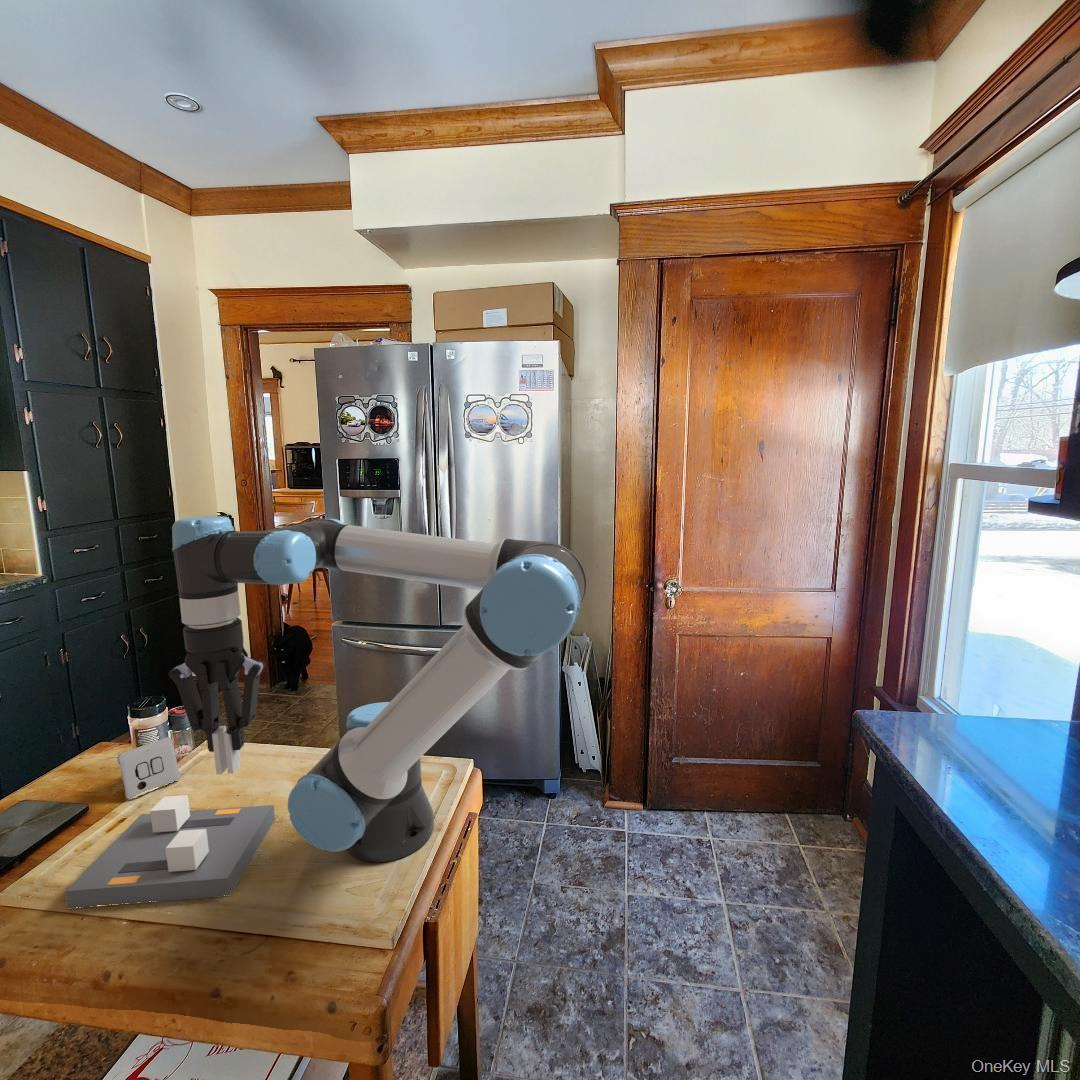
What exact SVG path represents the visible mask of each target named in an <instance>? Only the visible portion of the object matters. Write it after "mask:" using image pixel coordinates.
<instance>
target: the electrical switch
mask: <svg viewBox="0 0 1080 1080" xmlns="http://www.w3.org/2000/svg"><path fill="white" fill-rule="evenodd" d="M116 758H117V763H118V765H119V769H120V773H121V777H122V782H123V786H124V796H125V799H126V800H129V801H131V800H130V799H131V798H133V797H134V796H136V795H137V794H140V793H142V792H145V791H147V790H150V789H153V788H156V787H160V786H163V785H165V784H169V783H172V782H174V781H176V780H178V781H179V780H180V778H181V774H180V769H179V766H178V760H177V755H176V751H175V746H174V742H173V738H171V737H169V736H167V737H163V738H161V739H158V740H155V741H152V742H149V743H146V744H144V745H141V746H138V747H135V748H133V749H129V750H127V751H124V752H121V753H119V754H118V756H117V757H116ZM141 783H142V785H141V787H140V784H141ZM174 783H175V782H174ZM172 784H173V783H172ZM169 785H170V784H169Z"/></svg>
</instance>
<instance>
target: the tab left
mask: <svg viewBox="0 0 1080 1080" xmlns="http://www.w3.org/2000/svg"><path fill="white" fill-rule="evenodd" d="M208 852H209V847H208V839H207V831H206V829H198V830H184V831H179V833H178V834H177V835H176V836H175V837H174V839H173V840H172V841H171V842H170V843H169V845H168V846H167V847H166V856H167V864H168V871H169V872H173V871H186V870H196V869H197V867H198V866H199V865H200V863H201V862H202V861H203V859H204V858H205V856H206V855H207V854H208Z"/></svg>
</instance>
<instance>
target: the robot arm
mask: <svg viewBox="0 0 1080 1080" xmlns="http://www.w3.org/2000/svg"><path fill="white" fill-rule="evenodd" d="M171 531H172V532H171V533H172V535H171V537H172V548H171V550H172V553H173V559H174V566H175V572H176V579H177V587H178V596H179V598H178V599H179V606H180V614H181V615H180V616H181V623H182V624H184V625H185V626H184V627H183V628H182V634H183V640H184V649H185V651H186V652H187V653H186V656H185V658H184V663H181V664H178V665H176V667H174V668H172V669H171V670H169V671H168V676H169V678H170V679H171V680H172V681H173V683H174V684H175V686H176V687H177V690H178V693H179V697H180V700H181V702H182V705H183V709H184V711H185V714H186V716H187V720H188V724H189V725H190V728H191V730H192V731H199V730H201V731H203V732H204V733H205V734H206V743H207V750H208V751H209V753H212V752H213V754H214V755H213V756H214V764H215V772H216V775H222V774H223V773H224V772H225V771H226V770H227V774H228V775H229V774H230V775H231V774H234V773H235V772H236V771H237V770H238V768H239V767H240V766H241V765H242V759H241V749H242V748H243V747H244V745H245V735H244V728H247V727H248V726H250V724H251V723H252V722H253V721H254V720H255V719H256V714H257V707H258V706H257V705H258V697H259V686H260V678H261V673H262V672H263V671H264V669H265V666H266V662H265V661H264V660H262V659H260V660H258V661H257V660H255V659H253V658H252V657H251V658H250V657H249V654H248V652H247V651H246V649H245V647H244V632H243V624H242V623H243V622H242V619H241V618H239V617H240V615H241V605H240V596H239V586H238V585H239V584H255V585H256V584H258V585H273V586H274V585H276V586H284V585H291V584H293V585H294V584H295V585H297V584H301V583H303V582H305V581H307V580H308V579H309V575H311V574H312V573H313V572H314V570H316V569H319V568H321V569H330V570H337V571H345V572H352V573H359V574H364V575H365V574H366V575H372V576H381V577H387V578H394V579H400V580H408V581H414V582H420V583H426V584H435V585H441V586H449V587H456V588H462V589H470V590H475V591H476V590H477V591H479V592H478V593H477V594H476V595H475V596H474V597H473V598H472V600H470V601H469V603H468V604H467V605H466V606H465V608H464V609H463V619H464V621H463V622H464V624H463V625H461V628H459V629H458V630H457V632H455V634H453V636H452V637H451V638H450V639H449V640H448V641H447V642H446V643H445V644H444V645H443V646H442V647H441V648H440V650H438V651H437V653H436V654H434V655H433V656H432V657H431V659H430V660H429V661H428V662H427V663H426V664H425V665H424V666H423V667H422V668H421V669H420V671H418V672H417V673H416V675H414V676H413V678H412V679H411V680H410V681H409V682H408V683H407V684H406V685H405V686H404V687H403V688H402V689H401V690H400V691H399V692H398V693H397V694H396V695H395V696H394V697H393V698H392V700H391V701H383V702H375V703H369V704H365V705H362V706H359V707H356V708H355V709H352V711H350V712H349V713H348V715H347V717H346V723H345V725H346V728H347V732H346V733H345V734H344V735H343V736H342V737H341V738H340V739H339V740H338V741H336V743H335V744H334V745H332V748H330V750H329V751H328V752H327V753H326V754H324V756H323V757H322V758H321V759H320V760H319V761H318V762H317V763H316V764H315V765H314V766H313V767H312V768H311V769H310V770H309V771H308V772H307V773H306V774H303V775H302V776H301V777H300V778H299V779H298V781H297V783H296V784H295V785H294V786H293V788H292V789H291V791H290V793H289V795H288V798H287V811H288V813H289V819H290V821H291V824H292V826H293V828H294V829H295V831H296V832H297V833H298V835H299V836H300V837H301V838H303V840H304V841H306V842H307V843H308V844H309V845H311V846H313V847H315V848H316V849H318V850H321V851H324V850H326V851H328V852H332V853H333V852H336V853H337V852H342V851H345V850H347V851H348V852H349V854H351V856H353V857H354V858H357V859H359V860H361V861H364V862H365V861H366V862H371V863H384V862H390V861H395V860H398V859H402V858H405V857H407V856H409V855H411V854H412V853H415V852H416V851H418V850H419V849H420V848H422V847H423V846H424V845H425V844H427V842H428V841H429V840H430V839H431V837H432V835H433V832H434V829H435V820H434V810H433V807H432V806H431V803H430V801H429V798H428V795H427V793H426V791H425V789H424V787H423V784H422V768H421V767H422V765H421V764H422V763H421V761H422V760H421V757H422V756H424V754H425V753H427V751H429V749H431V748H432V747H433V746H434V745H435V744H436V742H438V741H439V739H441V738H442V737H443V736H444V735H445V734H446V733H447V732H448V731H449V730H450V729H451V728H452V727H453V726H454V725H455V724H456V723H457V722H458V721H459V720H460V719H461V718H462V717H463V716H464V715H465V714H466V713H467V712H468V711H469V710H470V709H471V708H472V707H473V706H474V705H475V704H476V703H477V702H478V701H479V700H480V699H481V698H482V697H483V696H484V695H486V693H487V692H488V691H489V690H490V689H491V688H492V687H494V685H495V684H497V682H498V681H499V680H500V679H501V678H502V677H503V676H505V674H506V673H507V672H509V670H518V671H523V670H527V669H528V668H529V667H530V666H531V665H532V664H533V663H534V662H535V661H536V660H537V659H538V658H539V657H540V656H541V655H542V654H545V653H548V652H549V651H551V650H552V649H554V648H555V647H557V646H558V645H560V644H561V643H563V641H564V640H565V639H566V638H567V637H568V636H569V634H570V633H571V632H572V631H573V628H574V627H575V623H576V622H577V619H578V617H579V612H580V608H581V607H580V606H581V604H582V603H583V600H584V597H585V595H586V589H587V575H586V570H585V568H584V565H583V564H582V562H581V560H580V558H578V556H577V555H576V554H575V553H574V552H573V551H572V550H570V549H569V548H568V547H565V546H564V545H561V544H559V543H556V542H550V541H540V540H539V541H536V540H525V539H524V540H521V539H513V538H502V539H501V540H500V541H499V542H497V543H492V542H487V541H486V542H485V541H476V540H469V539H461V538H454V537H453V538H452V537H445V536H437V535H431V534H424V533H423V534H422V533H415V532H414V533H413V532H406V531H399V530H398V531H397V530H392V529H391V530H390V529H383V528H376V527H375V528H373V527H367V526H360V525H351V524H345V522H343V521H341V520H339V519H336V518H317V519H315V520H312V521H308V522H303V523H298V524H293V525H289V526H284V527H279V528H273V529H267V530H254V531H253V530H251V531H249V530H248V531H244V530H243V531H239V530H238V531H237V530H234V528H233V524H232V521H231V519H230V518H229V517H227V516H220V515H212V516H211V515H209V516H208V515H207V516H195V517H186V518H181V519H178V520H176V521H175V522H174V523H173V525H172V527H171ZM243 667H244V675H246V677H245V679H244V687H243V696H242V701H241V695H240V694H241V693H240V688H239V679H240V678H239V673H240V671H241V670H242V668H243ZM193 674H194V675H195V677H197V678H198V686H197V684H196V680H195V678H194V676H193ZM198 687H199V690H198ZM219 690H220V691H221V692H222V697H223V704H224V711H225V715H226V721H227V726H226V725H220V724H222V722H223V719H221V715H220V697H219ZM199 691H201V695H200V693H199ZM227 728H228V729H227Z"/></svg>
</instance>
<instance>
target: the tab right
mask: <svg viewBox="0 0 1080 1080" xmlns="http://www.w3.org/2000/svg"><path fill="white" fill-rule="evenodd" d="M189 802H190V801H189V796H188V795H187V794H184V795H171V796H167V795H166V796H163V797H162V798H161V799H160V800H159V801H158V802H157V803H156V804H155V805H154V807H152V808H151V809H150V810H149V812H150V813H149V814H151V822H152V829H153V833H154V832H167V831H178V830H179V829H180V827H181V826H182V825H183V824H184V823H185V821H186V820H187V819H188V818H189V817H190V811H191V810H190V804H189Z"/></svg>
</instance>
